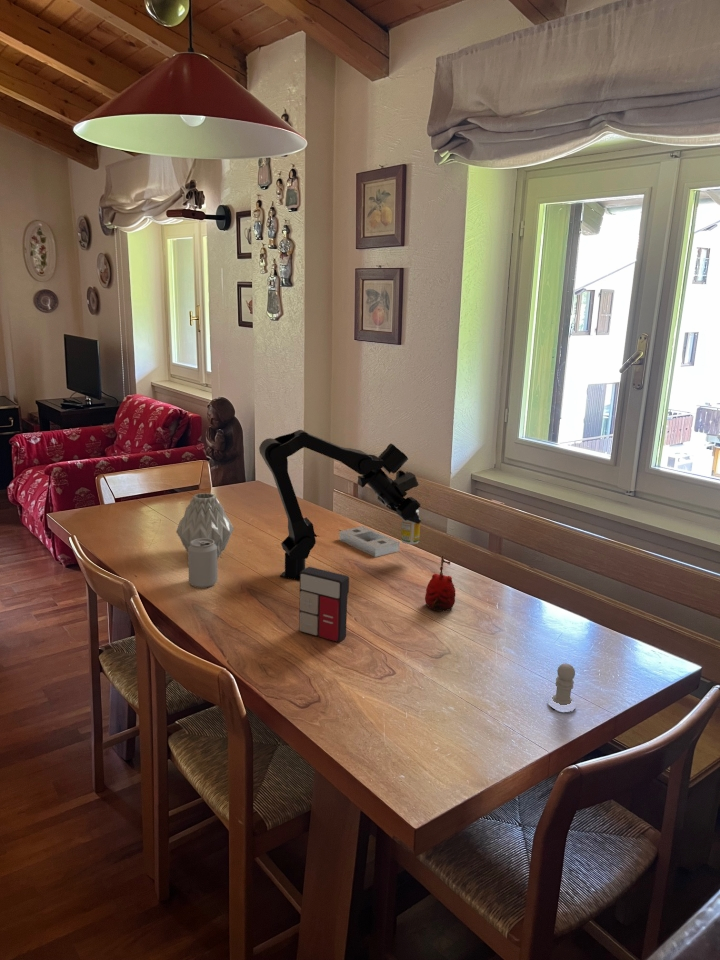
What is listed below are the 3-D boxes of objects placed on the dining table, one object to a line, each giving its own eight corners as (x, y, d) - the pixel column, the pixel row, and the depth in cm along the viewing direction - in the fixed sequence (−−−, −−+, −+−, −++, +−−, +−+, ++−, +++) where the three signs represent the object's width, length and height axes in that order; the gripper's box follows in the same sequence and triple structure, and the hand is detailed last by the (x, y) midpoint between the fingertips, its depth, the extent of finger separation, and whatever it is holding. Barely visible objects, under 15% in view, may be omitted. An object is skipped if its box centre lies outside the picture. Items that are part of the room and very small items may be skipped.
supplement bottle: (402, 544, 205) (404, 512, 202) (399, 538, 210) (401, 507, 207) (420, 544, 205) (422, 513, 203) (417, 538, 210) (419, 507, 208)
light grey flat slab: (399, 551, 218) (399, 541, 217) (375, 557, 212) (375, 547, 212) (362, 534, 232) (362, 525, 231) (339, 540, 226) (339, 530, 225)
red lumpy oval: (456, 604, 182) (460, 549, 178) (452, 615, 176) (456, 558, 172) (426, 599, 184) (430, 545, 180) (421, 611, 178) (425, 554, 174)
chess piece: (570, 698, 141) (575, 658, 139) (579, 714, 136) (584, 672, 133) (544, 698, 141) (548, 657, 138) (551, 714, 135) (556, 671, 133)
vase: (239, 548, 216) (239, 489, 211) (224, 568, 200) (223, 505, 196) (187, 544, 217) (186, 486, 213) (168, 564, 202) (166, 501, 197)
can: (201, 591, 184) (200, 548, 181) (183, 584, 189) (181, 541, 186) (223, 583, 190) (222, 541, 187) (204, 576, 194) (203, 534, 191)
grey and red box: (297, 632, 164) (297, 572, 160) (306, 625, 168) (307, 566, 164) (338, 644, 159) (340, 582, 155) (347, 636, 163) (349, 576, 159)
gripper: (416, 472, 192) (449, 508, 198) (389, 457, 209) (421, 491, 215) (387, 502, 191) (422, 537, 198) (363, 484, 208) (395, 517, 215)
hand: (415, 519), depth 206 cm, fingers closed on supplement bottle, 5 cm apart
